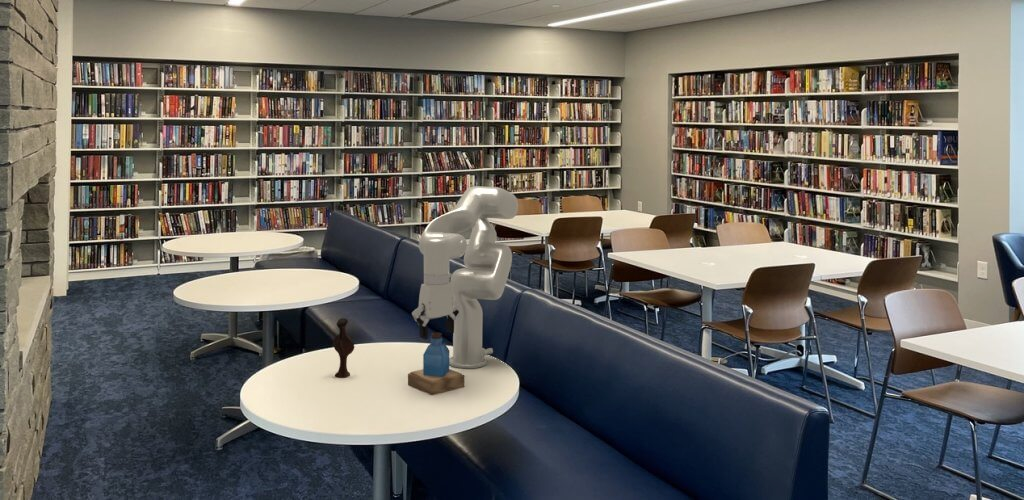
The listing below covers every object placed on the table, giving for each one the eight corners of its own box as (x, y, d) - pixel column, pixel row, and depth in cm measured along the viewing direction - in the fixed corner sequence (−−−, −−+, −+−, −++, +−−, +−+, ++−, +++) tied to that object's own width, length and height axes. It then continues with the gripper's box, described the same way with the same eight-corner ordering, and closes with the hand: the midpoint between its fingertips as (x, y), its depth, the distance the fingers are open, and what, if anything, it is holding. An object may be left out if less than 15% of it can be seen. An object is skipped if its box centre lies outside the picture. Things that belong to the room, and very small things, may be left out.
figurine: (358, 374, 245) (357, 318, 242) (349, 379, 240) (349, 322, 238) (338, 372, 248) (337, 316, 245) (329, 376, 243) (328, 319, 240)
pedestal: (439, 377, 244) (439, 364, 244) (464, 386, 236) (464, 373, 235) (407, 385, 236) (407, 372, 236) (432, 395, 228) (432, 381, 227)
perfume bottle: (443, 376, 232) (443, 337, 230) (423, 375, 233) (423, 335, 231) (449, 370, 238) (449, 331, 236) (429, 369, 239) (429, 330, 237)
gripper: (451, 273, 240) (452, 327, 243) (404, 280, 228) (405, 338, 231) (467, 277, 234) (467, 332, 237) (420, 285, 223) (420, 343, 226)
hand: (437, 335), depth 234 cm, fingers open, 9 cm apart
